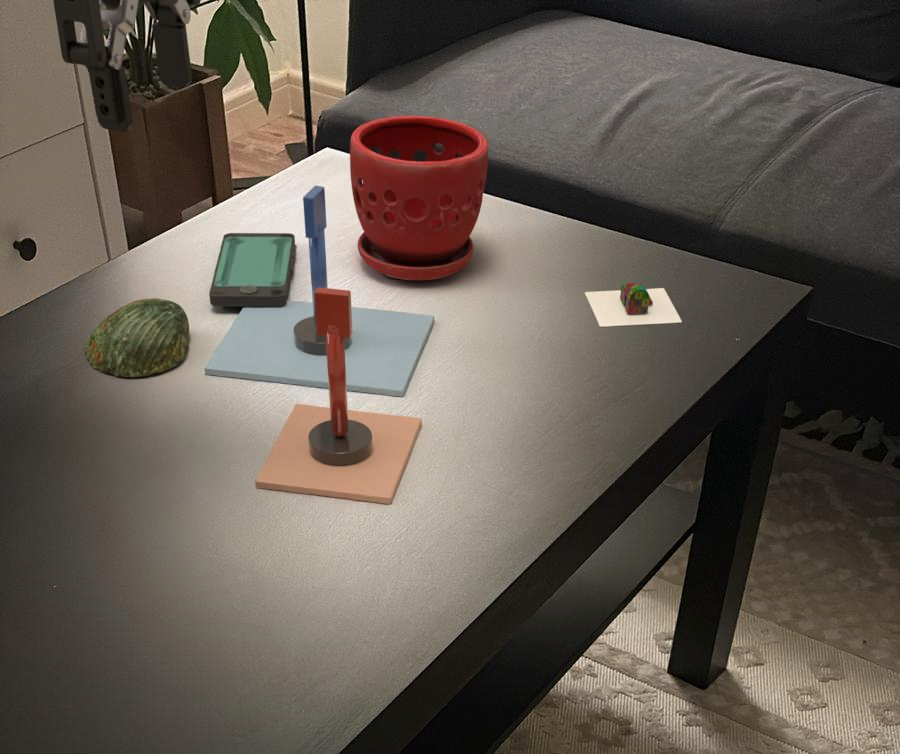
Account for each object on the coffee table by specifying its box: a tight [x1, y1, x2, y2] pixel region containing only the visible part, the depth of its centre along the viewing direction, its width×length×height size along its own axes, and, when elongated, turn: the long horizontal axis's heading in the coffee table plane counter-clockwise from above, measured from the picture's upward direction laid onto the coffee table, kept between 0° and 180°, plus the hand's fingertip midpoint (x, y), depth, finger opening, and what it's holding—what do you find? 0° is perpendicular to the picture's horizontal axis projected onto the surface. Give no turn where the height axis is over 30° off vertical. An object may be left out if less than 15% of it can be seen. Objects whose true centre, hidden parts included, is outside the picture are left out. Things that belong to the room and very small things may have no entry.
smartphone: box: [208, 232, 297, 307], centre depth 126 cm, size 7×1×15 cm
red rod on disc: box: [308, 287, 373, 466], centre depth 100 cm, size 5×5×13 cm
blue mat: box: [203, 299, 435, 398], centre depth 117 cm, size 18×14×1 cm
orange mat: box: [254, 403, 422, 505], centre depth 105 cm, size 11×12×1 cm
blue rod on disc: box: [293, 185, 352, 355], centre depth 112 cm, size 5×5×13 cm
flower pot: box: [349, 115, 489, 281], centre depth 125 cm, size 13×13×12 cm
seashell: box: [84, 298, 190, 379], centre depth 115 cm, size 10×4×10 cm
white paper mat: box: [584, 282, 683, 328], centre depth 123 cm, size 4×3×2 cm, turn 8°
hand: (147, 105), depth 87 cm, fingers open, 8 cm apart
